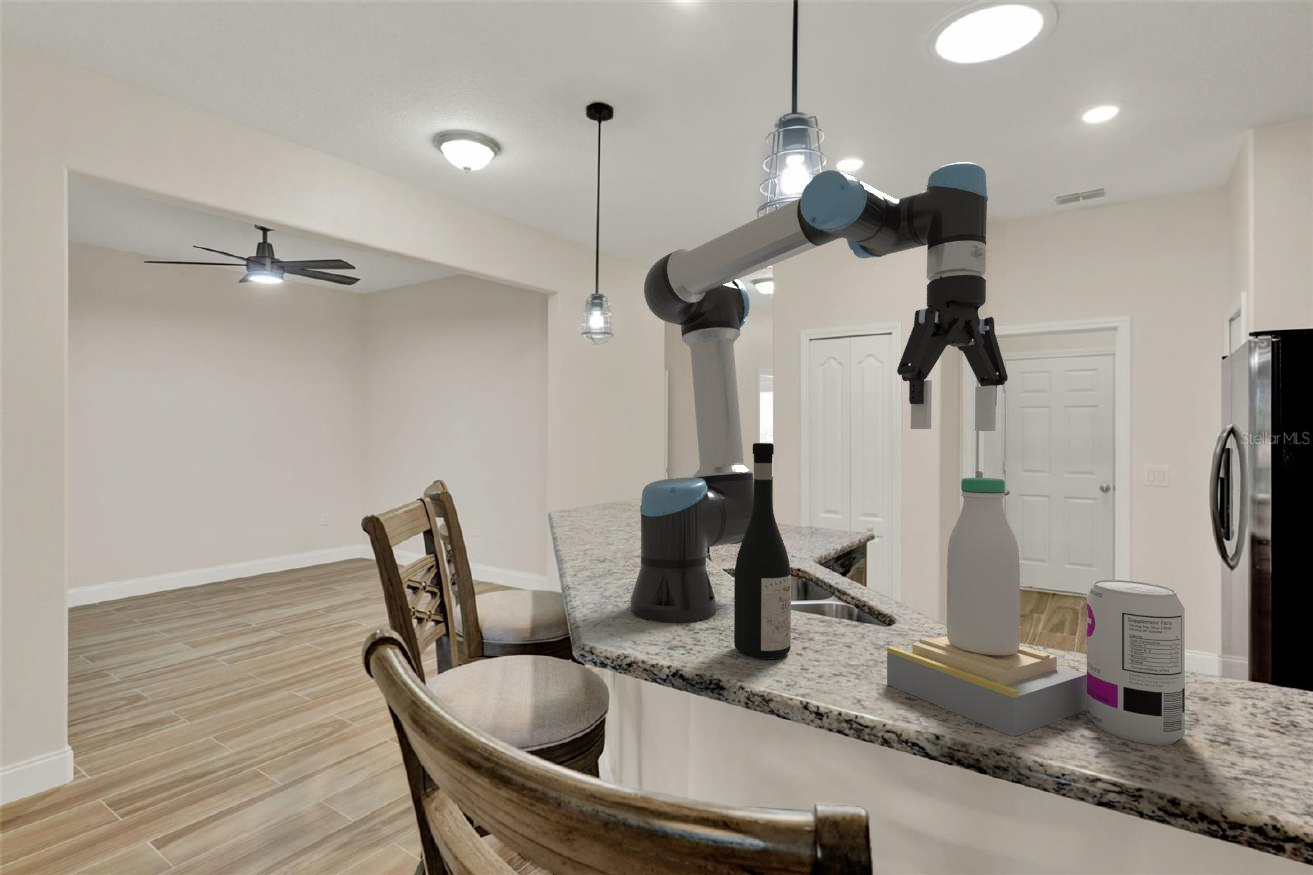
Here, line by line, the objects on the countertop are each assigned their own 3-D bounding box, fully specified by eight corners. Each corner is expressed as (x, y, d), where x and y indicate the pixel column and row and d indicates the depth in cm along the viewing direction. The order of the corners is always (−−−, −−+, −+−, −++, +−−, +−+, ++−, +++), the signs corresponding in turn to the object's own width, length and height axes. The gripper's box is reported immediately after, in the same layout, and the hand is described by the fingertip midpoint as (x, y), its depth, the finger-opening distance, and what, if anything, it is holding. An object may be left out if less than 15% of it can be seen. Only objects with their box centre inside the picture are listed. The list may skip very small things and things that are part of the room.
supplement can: (1074, 725, 67) (1074, 584, 67) (1102, 706, 72) (1102, 575, 72) (1170, 756, 60) (1170, 600, 61) (1194, 733, 65) (1193, 588, 66)
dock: (887, 684, 78) (887, 636, 78) (958, 665, 85) (958, 622, 85) (1013, 737, 64) (1013, 679, 64) (1087, 709, 71) (1087, 657, 71)
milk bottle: (1030, 659, 70) (1030, 480, 70) (956, 654, 72) (956, 479, 72) (1006, 638, 78) (1006, 477, 78) (939, 634, 79) (940, 476, 80)
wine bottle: (800, 651, 90) (801, 443, 91) (772, 666, 84) (773, 442, 85) (752, 639, 96) (753, 443, 96) (723, 652, 90) (724, 442, 90)
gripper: (916, 259, 79) (914, 427, 79) (1036, 284, 91) (1034, 431, 91) (871, 273, 86) (869, 428, 86) (987, 295, 98) (986, 431, 98)
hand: (954, 430), depth 88 cm, fingers open, 13 cm apart
